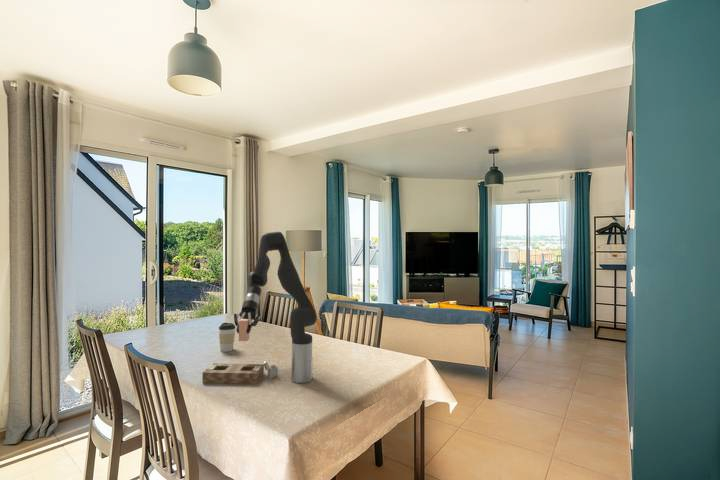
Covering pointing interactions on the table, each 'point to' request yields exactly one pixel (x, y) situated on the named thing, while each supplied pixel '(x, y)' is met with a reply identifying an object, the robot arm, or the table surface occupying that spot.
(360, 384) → the table surface
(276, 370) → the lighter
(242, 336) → the peg
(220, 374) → the slot holder
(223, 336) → the coffee cup
